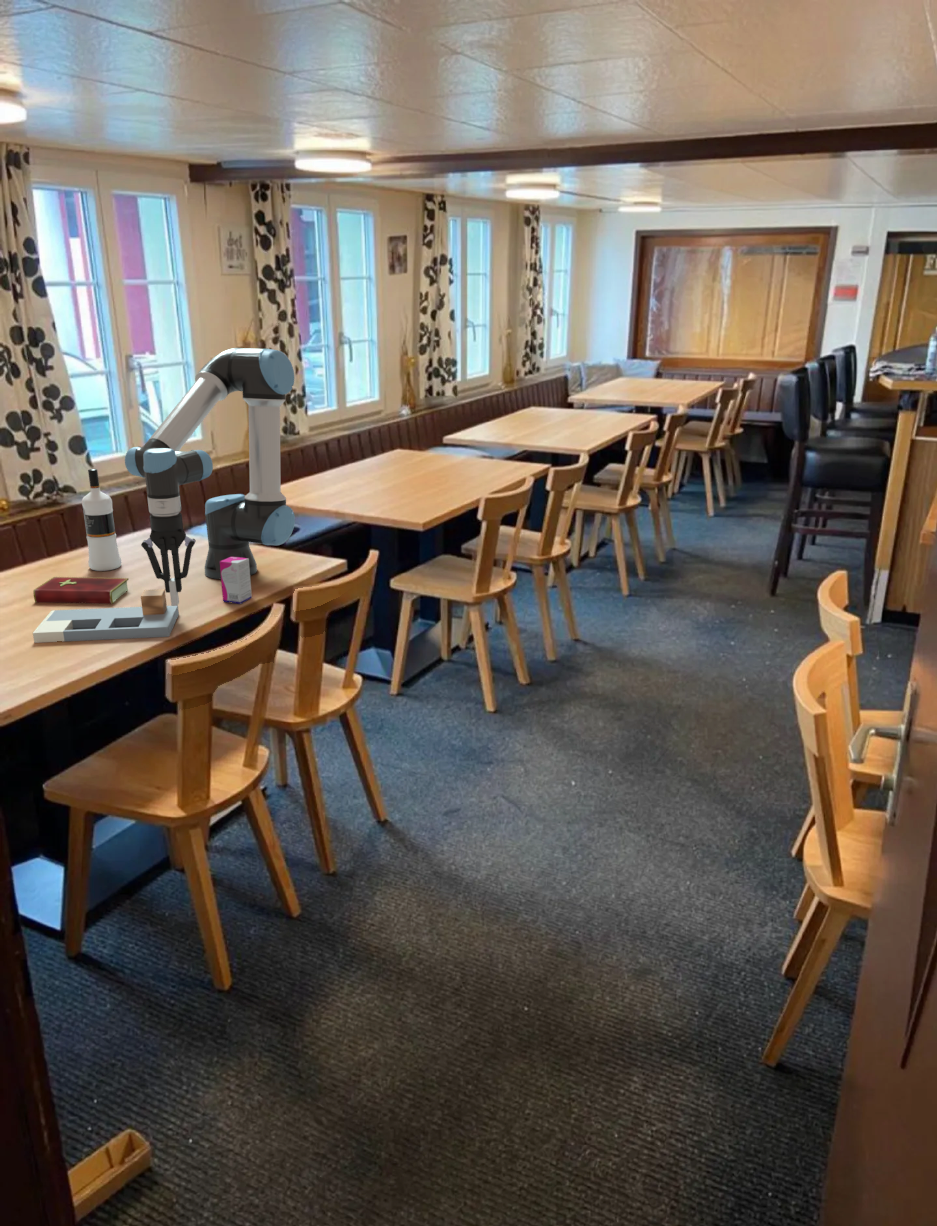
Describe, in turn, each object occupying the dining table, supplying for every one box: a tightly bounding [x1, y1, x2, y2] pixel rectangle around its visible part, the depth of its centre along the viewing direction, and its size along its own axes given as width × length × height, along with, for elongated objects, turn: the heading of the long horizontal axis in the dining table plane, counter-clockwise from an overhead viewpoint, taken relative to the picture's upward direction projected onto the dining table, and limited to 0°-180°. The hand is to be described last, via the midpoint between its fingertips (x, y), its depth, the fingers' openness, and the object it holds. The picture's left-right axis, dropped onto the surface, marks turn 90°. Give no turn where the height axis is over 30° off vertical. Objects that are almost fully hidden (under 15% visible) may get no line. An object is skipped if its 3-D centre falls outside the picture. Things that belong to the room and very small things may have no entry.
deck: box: [32, 605, 180, 644], centre depth 217 cm, size 31×16×2 cm, turn 99°
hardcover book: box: [32, 576, 129, 605], centre depth 239 cm, size 12×21×4 cm, turn 89°
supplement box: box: [220, 557, 253, 605], centre depth 236 cm, size 6×6×12 cm
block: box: [140, 588, 168, 615], centre depth 221 cm, size 5×5×5 cm
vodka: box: [81, 468, 123, 572], centre depth 260 cm, size 9×9×30 cm
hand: (175, 604), depth 222 cm, fingers closed
